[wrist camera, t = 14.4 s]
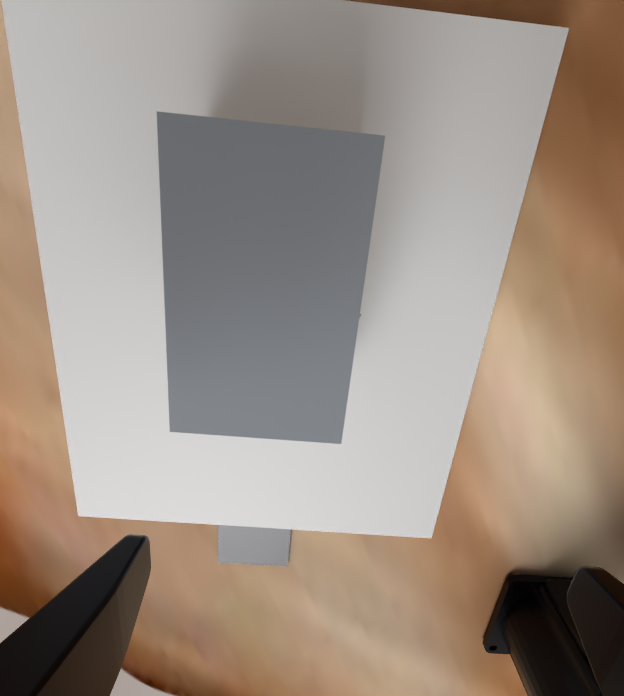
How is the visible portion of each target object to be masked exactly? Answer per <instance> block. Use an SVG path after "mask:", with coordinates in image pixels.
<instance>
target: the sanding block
mask: <svg viewBox="0 0 624 696" xmlns="http://www.w3.org/2000/svg"><path fill="white" fill-rule="evenodd" d="M157 134H158V158H159V182H160V207H161V231H162V255H163V280H164V304H165V328H166V353H167V377H168V402H169V426H170V432H179V433H193V434H207V435H221V436H235V437H249V438H263V439H277V440H291V441H305V442H319V443H333V444H341V442H342V435H343V428H344V421H345V414H346V407H347V400H348V393H349V386H350V379H351V372H352V365H353V358H354V351H355V344H356V337H357V330H358V323H359V316H360V309H361V302H362V295H363V288H364V281H365V274H366V267H367V260H368V253H369V246H370V239H371V232H372V225H373V218H374V211H375V204H376V197H377V190H378V183H379V176H380V169H381V162H382V155H383V148H384V141H385V136H384V135H375V134H365V133H356V132H346V131H337V130H327V129H318V128H309V127H299V126H290V125H280V124H271V123H262V122H252V121H243V120H233V119H224V118H215V117H205V116H196V115H186V114H177V113H168V112H158V111H157Z"/></svg>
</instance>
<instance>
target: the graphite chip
mask: <svg viewBox="0 0 624 696" xmlns="http://www.w3.org/2000/svg"><path fill="white" fill-rule="evenodd" d="M290 537H291V529H276V528H261V527H245V526H229V525H218V563H234V564H253V565H271V566H288V557H289V547H290Z"/></svg>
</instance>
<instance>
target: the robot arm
mask: <svg viewBox="0 0 624 696" xmlns="http://www.w3.org/2000/svg"><path fill="white" fill-rule="evenodd" d="M150 570H151V558H150V542H149V538H148V537H147V536H145V535H133V534H130V535H127V536H125V537H124V538H123V539H121V540H120V541H119V542H118V543H117V544H116V545H114V546H113V547H112V548H111V549H110V550H109V551H107V552H106V553H105V554H104V555H103V556H102V557H100V558H99V559H98V560H97V561H96V562H95V563H93V564H92V565H91V566H90V567H89V568H88V569H86V570H85V571H84V572H83V573H82V574H81V575H79V576H78V577H77V578H76V579H75V580H74V581H72V582H71V583H70V584H69V585H68V586H67V587H65V588H64V589H63V590H62V591H61V592H60V593H58V594H57V595H56V596H55V597H54V598H53V599H51V600H50V601H49V602H48V603H47V604H46V605H44V606H43V607H42V608H41V609H40V610H39V611H37V612H36V613H35V614H34V615H33V616H32V617H30V618H29V619H28V620H27V621H26V622H25V623H23V624H22V625H21V626H20V627H19V628H18V629H16V630H15V631H14V632H13V633H12V634H11V635H9V636H8V637H7V638H6V639H5V640H4V641H3V642H1V643H0V696H110V694H111V691H112V689H113V686H114V684H115V681H116V679H117V676H118V674H119V671H120V669H121V666H122V664H123V661H124V658H125V655H126V652H127V649H128V645H129V642H130V639H131V636H132V632H133V629H134V626H135V622H136V619H137V616H138V612H139V609H140V606H141V602H142V599H143V596H144V593H145V589H146V586H147V583H148V579H149V575H150ZM483 645H484V648H485V650H486V652H488V653H497V654H510V655H511V658H512V660H513V662H514V665H515V667H516V669H517V672H518V674H519V676H520V679H521V681H522V684H523V686H524V688H525V691H526V693H527V695H528V696H624V584H623V583H622V582H620V581H619V580H617V579H616V578H615V577H613V576H612V575H611V574H609V573H608V572H607V571H605V570H604V569H602V568H599V567H589V566H581V567H580V568H578V569H577V571H576V573H575V576H574V578H561V577H544V576H527V575H512V576H510V577H508V578H507V580H506V582H505V584H504V587H503V590H502V592H501V595H500V597H499V600H498V603H497V605H496V608H495V611H494V613H493V616H492V619H491V621H490V624H489V627H488V629H487V632H486V634H485V637H484V640H483Z"/></svg>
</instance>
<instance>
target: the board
mask: <svg viewBox="0 0 624 696" xmlns="http://www.w3.org/2000/svg"><path fill="white" fill-rule="evenodd" d="M2 7H3V14H4V21H5V27H6V34H7V41H8V47H9V54H10V61H11V68H12V74H13V81H14V88H15V94H16V101H17V108H18V115H19V121H20V128H21V135H22V141H23V148H24V155H25V162H26V168H27V175H28V182H29V188H30V195H31V202H32V208H33V215H34V222H35V229H36V235H37V242H38V249H39V255H40V262H41V269H42V276H43V282H44V289H45V296H46V302H47V309H48V316H49V323H50V329H51V336H52V343H53V349H54V356H55V363H56V370H57V376H58V383H59V390H60V396H61V403H62V410H63V417H64V423H65V430H66V437H67V443H68V450H69V457H70V464H71V470H72V477H73V484H74V490H75V497H76V504H77V511H78V516H86V517H102V518H118V519H134V520H149V521H165V522H181V523H197V524H213V525H229V526H245V527H261V528H276V529H292V530H308V531H324V532H340V533H356V534H372V535H388V536H403V537H419V538H432V534H433V530H434V527H435V523H436V519H437V516H438V512H439V508H440V505H441V501H442V497H443V493H444V490H445V486H446V482H447V479H448V475H449V471H450V467H451V464H452V460H453V456H454V453H455V449H456V445H457V442H458V438H459V434H460V430H461V427H462V423H463V419H464V416H465V412H466V408H467V404H468V401H469V397H470V393H471V390H472V386H473V382H474V379H475V375H476V371H477V367H478V364H479V360H480V356H481V353H482V349H483V345H484V341H485V338H486V334H487V330H488V327H489V323H490V319H491V316H492V312H493V308H494V304H495V301H496V297H497V293H498V290H499V286H500V282H501V279H502V275H503V271H504V267H505V264H506V260H507V256H508V253H509V249H510V245H511V241H512V238H513V234H514V230H515V227H516V223H517V219H518V216H519V212H520V208H521V204H522V201H523V197H524V193H525V190H526V186H527V182H528V178H529V175H530V171H531V167H532V164H533V160H534V156H535V153H536V149H537V145H538V141H539V138H540V134H541V130H542V127H543V123H544V119H545V115H546V112H547V108H548V104H549V101H550V97H551V93H552V90H553V86H554V82H555V78H556V75H557V71H558V67H559V64H560V60H561V56H562V52H563V49H564V45H565V41H566V38H567V34H568V30H569V28H565V27H557V26H549V25H541V24H533V23H524V22H516V21H508V20H500V19H492V18H484V17H476V16H468V15H460V14H452V13H444V12H435V11H427V10H419V9H411V8H403V7H395V6H387V5H379V4H371V3H363V2H355V1H346V0H2ZM157 111H158V112H168V113H177V114H186V115H196V116H205V117H215V118H224V119H233V120H243V121H252V122H262V123H271V124H280V125H290V126H299V127H309V128H318V129H327V130H337V131H346V132H356V133H365V134H375V135H384V136H385V141H384V148H383V155H382V162H381V169H380V176H379V183H378V190H377V197H376V204H375V211H374V218H373V225H372V232H371V239H370V246H369V253H368V260H367V267H366V274H365V281H364V288H363V295H362V302H361V309H360V316H359V323H358V330H357V337H356V344H355V351H354V358H353V365H352V372H351V379H350V386H349V393H348V400H347V407H346V414H345V421H344V428H343V435H342V442H341V444H333V443H319V442H305V441H291V440H277V439H263V438H249V437H235V436H221V435H207V434H193V433H179V432H170V426H169V402H168V377H167V353H166V328H165V304H164V280H163V255H162V231H161V207H160V182H159V158H158V134H157Z"/></svg>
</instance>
